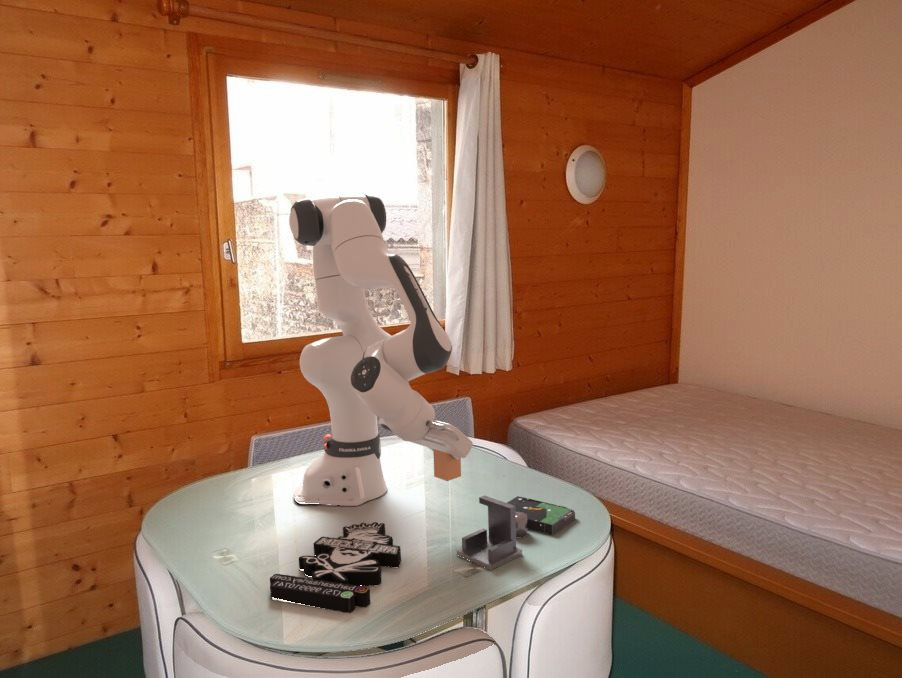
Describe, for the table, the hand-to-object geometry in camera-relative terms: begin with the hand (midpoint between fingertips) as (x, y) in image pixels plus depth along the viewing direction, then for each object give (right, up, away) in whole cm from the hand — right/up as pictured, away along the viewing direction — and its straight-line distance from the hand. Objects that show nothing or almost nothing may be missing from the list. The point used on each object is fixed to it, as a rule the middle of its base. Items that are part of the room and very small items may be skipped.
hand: (449, 453), depth 148 cm
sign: (-19, -20, -13) cm, 31 cm away
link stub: (+14, -17, -1) cm, 22 cm away
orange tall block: (0, -5, 0) cm, 5 cm away
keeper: (+8, -18, -10) cm, 22 cm away
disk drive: (+19, -16, +6) cm, 25 cm away
